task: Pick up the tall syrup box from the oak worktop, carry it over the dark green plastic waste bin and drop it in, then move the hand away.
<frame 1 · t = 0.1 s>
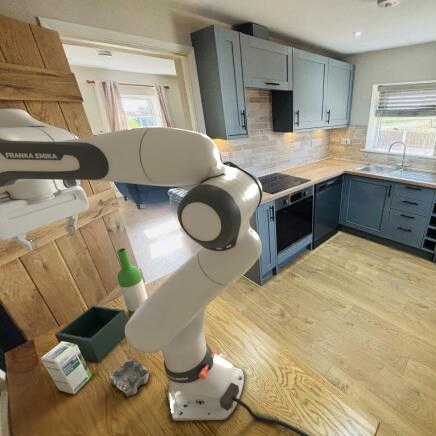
hand: (53, 239, 59), 48 cm above the table, tool pointing down, fingers open, 8 cm apart
wine bottle: (139, 310, 101), on the table
egg carton: (131, 380, 75), on the table
syrup box: (76, 383, 74), on the table
waste bin: (99, 341, 87), on the table
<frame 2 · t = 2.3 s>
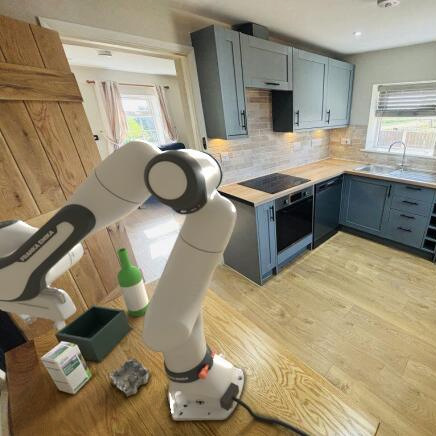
hand: (45, 324, 64), 24 cm above the table, tool pointing down, fingers open, 8 cm apart
nothing on the table moved.
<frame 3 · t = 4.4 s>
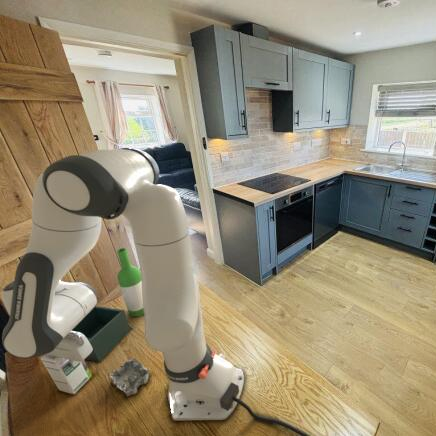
hand: (64, 362, 70), 10 cm above the table, tool pointing down, fingers closed on syrup box, 6 cm apart
syrup box: (76, 383, 73), on the table, touching gripper
everything else where it was.
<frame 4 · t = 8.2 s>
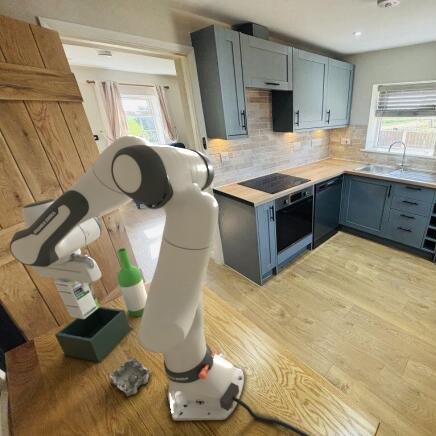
hand: (75, 288, 76), 25 cm above the table, tool pointing down, fingers closed on syrup box, 6 cm apart
syrup box: (85, 312, 80), point 15 cm above the table, touching gripper
everything else where it was.
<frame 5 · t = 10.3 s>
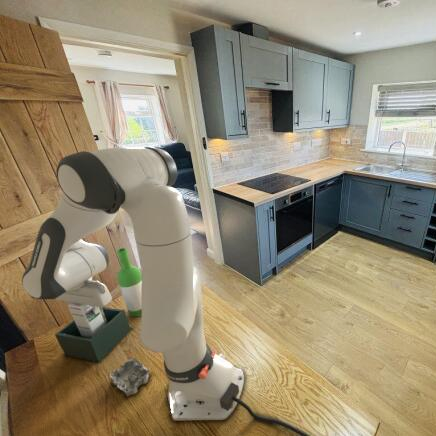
hand: (87, 311, 81), 15 cm above the table, tool pointing down, fingers closed on syrup box, 6 cm apart
syrup box: (95, 332, 85), point 5 cm above the table, touching gripper
everything else where it was.
when the fingers open (10 cm above the table, at t = 12.0 s): syrup box stays where it is, resting on waste bin.
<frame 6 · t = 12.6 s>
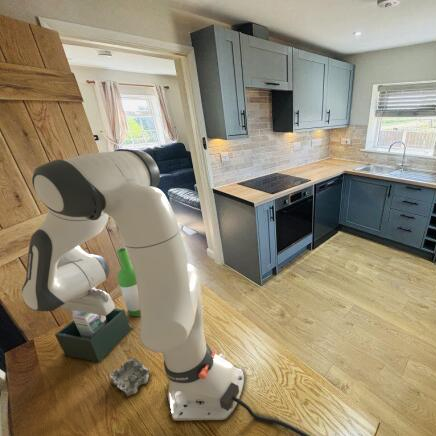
hand: (90, 318, 83), 11 cm above the table, tool pointing down, fingers open, 8 cm apart
syrup box: (99, 340, 87), point 1 cm above the table, touching waste bin
everything else where it was.
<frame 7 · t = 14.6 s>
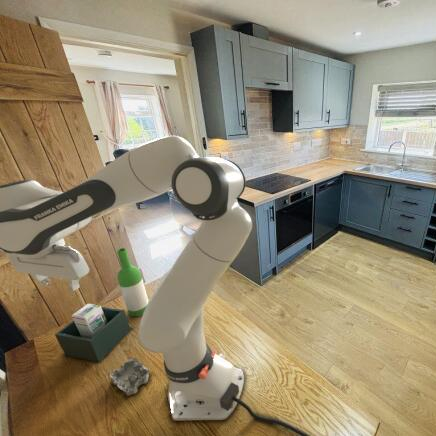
hand: (60, 286, 66), 32 cm above the table, tool pointing down, fingers open, 8 cm apart
nothing on the table moved.
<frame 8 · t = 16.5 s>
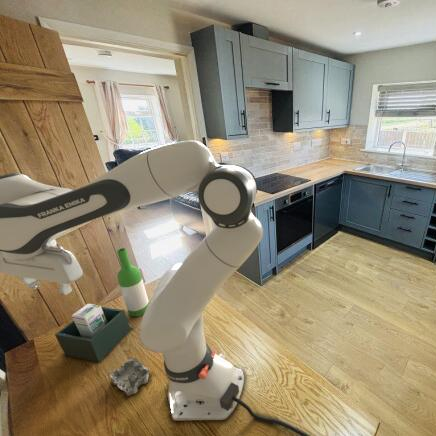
hand: (51, 290, 61), 35 cm above the table, tool pointing down, fingers open, 8 cm apart
nothing on the table moved.
at the end: syrup box inside the target area in the waste bin (0.1 cm from its centre), point 0.6 cm above the waste bin's base; the gripper is holding nothing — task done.
